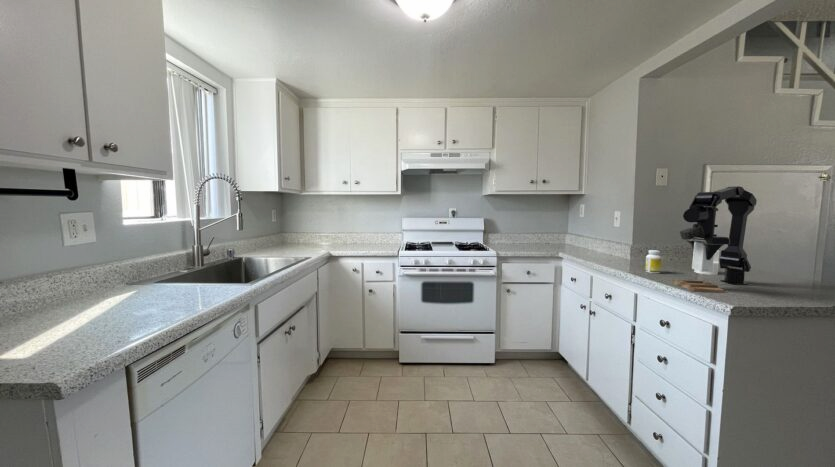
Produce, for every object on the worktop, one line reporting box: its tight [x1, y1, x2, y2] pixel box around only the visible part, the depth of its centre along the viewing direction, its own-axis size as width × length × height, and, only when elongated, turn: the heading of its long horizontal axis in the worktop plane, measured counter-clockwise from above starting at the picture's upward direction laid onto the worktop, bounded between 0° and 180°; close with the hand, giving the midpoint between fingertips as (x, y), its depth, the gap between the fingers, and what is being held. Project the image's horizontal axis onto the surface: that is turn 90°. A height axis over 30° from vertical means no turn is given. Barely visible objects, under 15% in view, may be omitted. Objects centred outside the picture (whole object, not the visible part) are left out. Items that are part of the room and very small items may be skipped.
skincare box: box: [691, 241, 714, 272], centre depth 132 cm, size 6×4×12 cm
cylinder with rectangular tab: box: [693, 249, 720, 276], centre depth 162 cm, size 9×9×12 cm
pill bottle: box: [645, 249, 662, 274], centre depth 163 cm, size 6×6×12 cm
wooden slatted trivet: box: [672, 279, 725, 294], centre depth 134 cm, size 14×11×2 cm
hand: (702, 258), depth 132 cm, fingers closed on skincare box, 6 cm apart
